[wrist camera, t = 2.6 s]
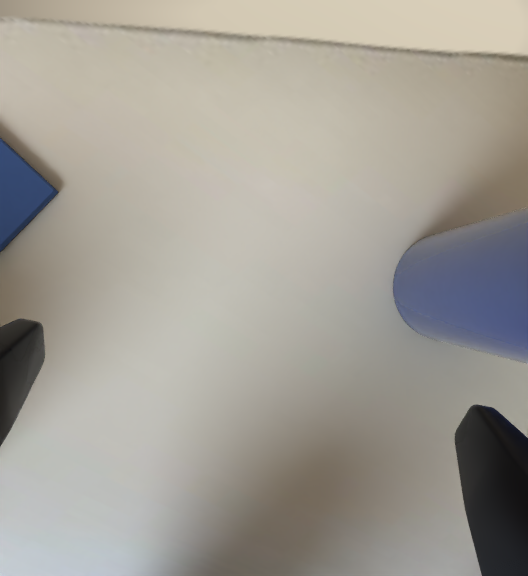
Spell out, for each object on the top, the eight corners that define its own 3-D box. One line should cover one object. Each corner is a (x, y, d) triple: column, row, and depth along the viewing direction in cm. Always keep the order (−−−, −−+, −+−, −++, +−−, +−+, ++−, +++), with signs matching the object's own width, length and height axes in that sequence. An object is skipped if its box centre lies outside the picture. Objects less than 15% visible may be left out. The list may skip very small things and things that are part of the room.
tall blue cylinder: (520, 284, 25) (861, 278, 11) (448, 363, 25) (707, 455, 11) (443, 210, 25) (695, 111, 11) (370, 289, 25) (535, 288, 11)
